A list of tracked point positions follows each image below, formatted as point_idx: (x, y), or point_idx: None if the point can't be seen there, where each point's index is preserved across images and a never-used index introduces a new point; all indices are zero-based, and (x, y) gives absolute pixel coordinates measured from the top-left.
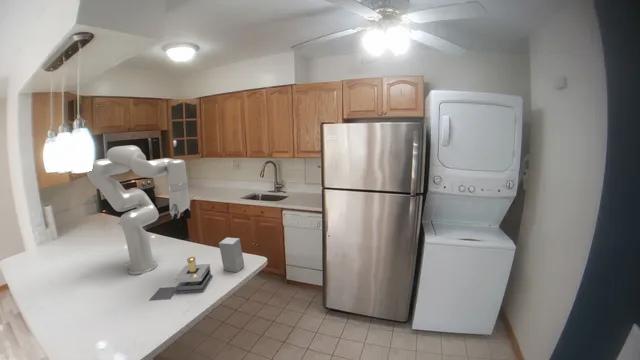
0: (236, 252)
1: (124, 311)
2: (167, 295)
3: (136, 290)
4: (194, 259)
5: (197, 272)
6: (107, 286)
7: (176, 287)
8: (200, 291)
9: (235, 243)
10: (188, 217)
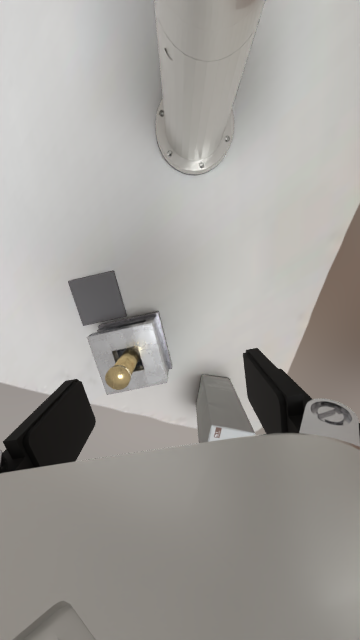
0: None
1: (29, 253)
2: (92, 310)
3: (96, 213)
4: (118, 388)
5: None
6: (93, 98)
7: (97, 330)
8: None
9: None
10: (250, 393)
